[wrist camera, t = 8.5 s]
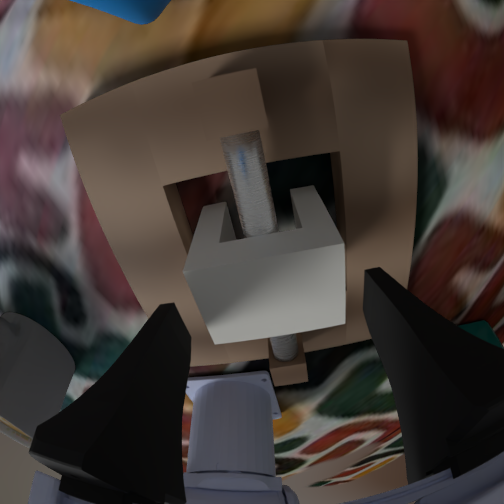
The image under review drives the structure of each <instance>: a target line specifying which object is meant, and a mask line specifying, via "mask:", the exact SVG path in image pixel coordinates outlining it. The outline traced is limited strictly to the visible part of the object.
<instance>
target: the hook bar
mask: <svg viewBox="0 0 504 504" xmlns="http://www.w3.org/2000/svg"><path fill="white" fill-rule="evenodd" d="M220 142H221V146H222V150H223V154H224V158H225V162H226V166H227V170H228V175H229V179H230V183H231V187H232V191H233V195H234V199H235V203H236V207H237V211H238V215H239V219H240V223H241V227H242V230H243V234H244V238H249V237H255V236H261V235H266V234H271V233H277V232H279V229H278V224H277V218H276V213H275V208H274V202H273V197H272V192H271V187H270V181H269V176H268V171H267V166H266V161H265V156H264V151H263V146H262V141H261V136H260V132H259V130H256V131H251V132H246V133H241V134H236V135H231V136H227V137H222V138H220ZM270 341H271V345H272V349H273V353H274V356H275V358H276V359H277V360H279V361H281V362H289V361H292V360H293V359H295V358H296V357H297V355H298V344H297V337H296V333H293V334H287V335H281V336H275V337H270Z"/></svg>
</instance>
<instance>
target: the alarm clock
mask: <svg viewBox="0 0 504 504" xmlns="http://www.w3.org/2000/svg"><path fill="white" fill-rule="evenodd" d="M70 1H74V2H77V3H80V4H83V5H86V6H89V7H92V8H95V9H98V10H101V11H104V12H107V13H109V14H112V15H115V16H117V17H120V18H123V19H125V20H128V21H130V22H133V23H136V24H141V25H142V24H148V23H150V22H152V21H154V20H155V19H156V18H157V17H158V16H159V15H160V14H161V13H162V11H163V10H164V9H165V7H166V6H167V5H168V3H169V2H170V1H171V0H70Z"/></svg>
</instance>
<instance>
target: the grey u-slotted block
mask: <svg viewBox="0 0 504 504" xmlns="http://www.w3.org/2000/svg"><path fill="white" fill-rule="evenodd" d="M290 194H291V200H292V206H293V213H294V219H295V226H296V229H293V230H288V231H282V232H277V233H271V234H266V235H261V236H255V237H249V238H244V239H239V240H236V236H235V232H234V229H233V225H232V221H231V218H230V214H229V210H228V207H227V203H226V202H221V203H216V204H212V205H207V206H203V208H202V211H201V214H200V217H199V221H198V224H197V227H196V230H195V233H194V236H193V239H192V243H191V246H190V249H189V252H188V256H187V259H186V262H185V266H184V269H183V274H184V276H185V279H186V281H187V283H188V286H189V288H190V290H191V293H192V295H193V297H194V300H195V302H196V304H197V306H198V309H199V311H200V313H201V315H202V318H203V320H204V322H205V324H206V326H207V329H208V331H209V333H210V335H211V337H212V339H213V342H214V344H224V343H232V342H240V341H247V340H255V339H262V338H268V337H275V336H281V335H287V334H293V333H299V332H305V331H311V330H316V329H321V328H327V327H332V326H337V325H341V324H345V307H346V293H345V249H344V242H343V240H342V238H341V236H340V234H339V232H338V230H337V228H336V226H335V224H334V222H333V220H332V218H331V216H330V215H329V213H328V211H327V209H326V207H325V205H324V203H323V202H322V200H321V198H320V196H319V194H318V193H317V191H316V189H315V187H314V185H312V186H306V187H300V188H294V189H290Z"/></svg>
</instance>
